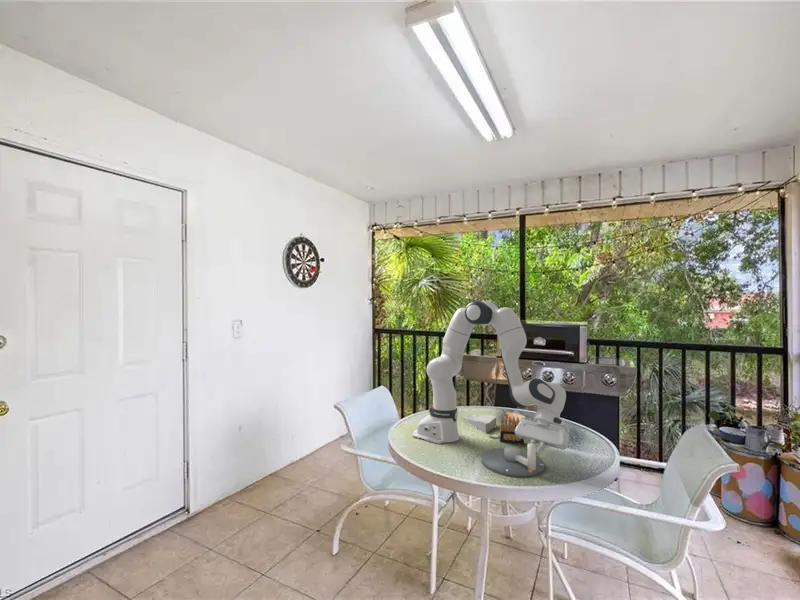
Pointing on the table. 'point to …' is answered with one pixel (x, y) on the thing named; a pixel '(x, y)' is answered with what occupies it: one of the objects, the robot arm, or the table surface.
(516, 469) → the dial plate
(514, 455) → the dial lever
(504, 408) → the table surface
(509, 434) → the ammunition clip
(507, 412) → the bread slice
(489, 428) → the ramp
